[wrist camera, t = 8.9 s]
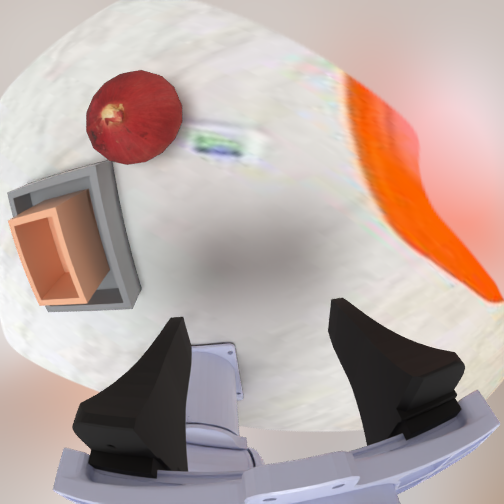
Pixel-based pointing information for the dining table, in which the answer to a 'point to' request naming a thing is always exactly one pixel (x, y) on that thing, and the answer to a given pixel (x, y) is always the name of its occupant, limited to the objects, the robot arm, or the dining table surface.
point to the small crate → (61, 249)
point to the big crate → (109, 225)
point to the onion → (133, 117)
